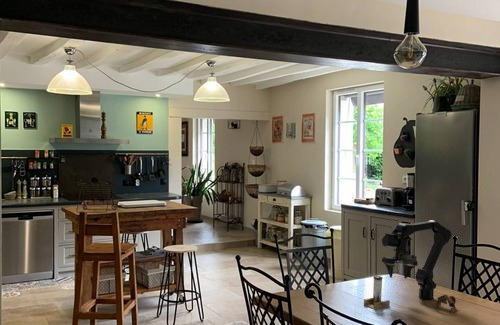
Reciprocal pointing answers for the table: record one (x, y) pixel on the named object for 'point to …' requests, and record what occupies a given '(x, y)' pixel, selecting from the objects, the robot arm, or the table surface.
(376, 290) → the pin
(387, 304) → the slot block
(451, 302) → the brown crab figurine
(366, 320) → the table surface
